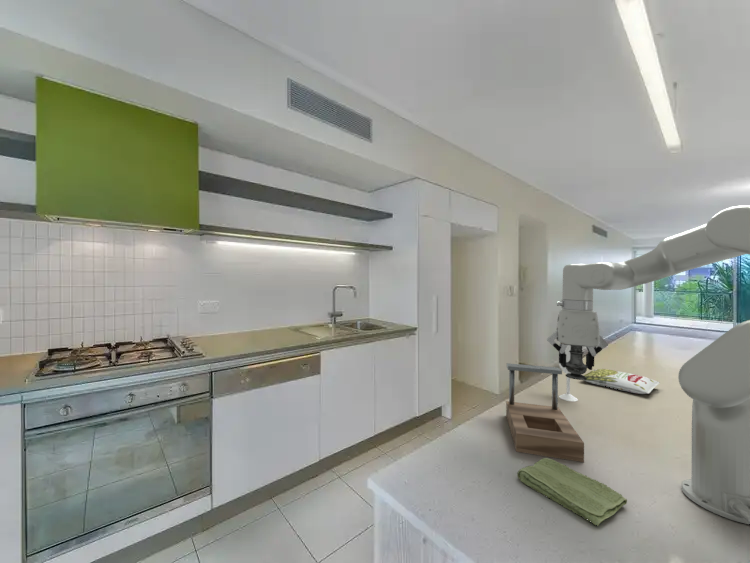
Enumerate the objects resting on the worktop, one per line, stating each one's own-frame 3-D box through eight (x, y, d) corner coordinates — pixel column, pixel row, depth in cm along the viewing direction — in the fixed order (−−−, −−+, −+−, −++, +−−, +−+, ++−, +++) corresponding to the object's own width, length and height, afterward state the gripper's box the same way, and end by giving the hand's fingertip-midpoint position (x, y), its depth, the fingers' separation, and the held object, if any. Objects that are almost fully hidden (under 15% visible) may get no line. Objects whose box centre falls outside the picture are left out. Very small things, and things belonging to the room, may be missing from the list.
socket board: (583, 462, 79) (584, 442, 79) (516, 451, 84) (516, 433, 84) (558, 422, 102) (558, 407, 102) (506, 415, 106) (506, 401, 106)
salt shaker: (591, 381, 86) (592, 338, 86) (568, 379, 88) (569, 337, 88) (583, 374, 92) (583, 335, 92) (561, 373, 93) (561, 334, 93)
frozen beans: (594, 363, 156) (660, 375, 136) (594, 375, 156) (660, 388, 136) (578, 371, 143) (648, 386, 123) (578, 384, 143) (649, 400, 123)
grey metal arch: (561, 411, 98) (562, 370, 98) (507, 405, 103) (508, 366, 103) (558, 407, 102) (558, 367, 102) (506, 401, 106) (506, 363, 107)
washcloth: (600, 534, 57) (600, 516, 57) (514, 481, 72) (514, 467, 72) (630, 507, 63) (630, 492, 64) (545, 464, 79) (545, 451, 79)
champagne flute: (582, 400, 122) (582, 339, 122) (570, 402, 119) (570, 340, 119) (566, 394, 128) (566, 337, 128) (554, 396, 126) (555, 337, 126)
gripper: (546, 305, 89) (545, 367, 89) (617, 308, 83) (616, 374, 83) (541, 304, 96) (540, 361, 96) (607, 306, 90) (606, 367, 90)
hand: (576, 366), depth 90 cm, fingers closed on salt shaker, 5 cm apart
